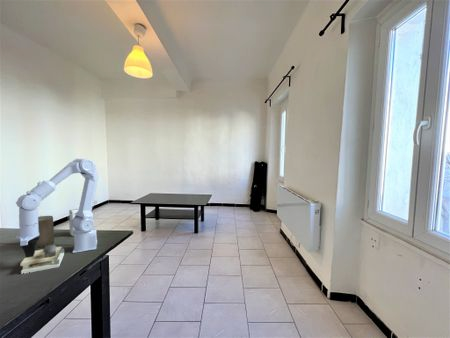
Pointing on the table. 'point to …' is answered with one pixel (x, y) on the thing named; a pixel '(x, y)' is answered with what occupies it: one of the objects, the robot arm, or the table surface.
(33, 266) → the stand
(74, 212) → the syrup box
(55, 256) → the plate
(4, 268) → the table surface
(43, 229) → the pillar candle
